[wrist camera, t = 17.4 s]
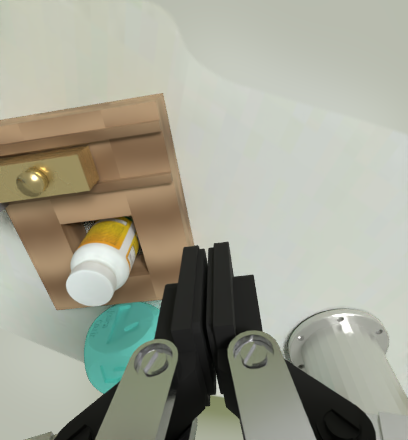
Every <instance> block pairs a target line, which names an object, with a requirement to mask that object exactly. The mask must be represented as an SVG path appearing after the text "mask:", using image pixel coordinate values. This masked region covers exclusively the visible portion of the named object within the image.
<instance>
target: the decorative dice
mask: <svg viewBox="0 0 408 440" xmlns="http://www.w3.org/2000/svg"><path fill="white" fill-rule="evenodd" d="M159 312H160V310H159V309H157V308H156V307H154V306H152V305H150V304H147V303H143V302H133V303H123V304H117V305H115V306H113V307H111V308H109V309H107V310H106V311H104V312H103V313H102V314H101V315H100V316H99V317H98V318H97V319H96V320H95V321H94V322H93V324H92V325H91V327H90V328H89V331H88V333H87V336H86V341H85V347H84V363H85V369H86V373H87V376H88V379H89V380H90V382H91V383H92V385H93V386H94V387H95V388H96V389H97V390H99V391H100V392H102V393H103V394H105V393H106V392H107V391H108V390H110V389H111V388H112V387H113V386H114V385H116V384H117V383H118V382H119V381H120V380H121V378H122V376H123V373H124V371H125V369H126V366H127V364H128V362H129V359H130V357H131V356H132V354H133V352H134V351H135V350H136V349H137V348H138V347H139V346H141V345H142V344H144V343H145V342H148V341H151V340H153V339H154V337H155V332H156V327H157V322H158V317H159Z"/></svg>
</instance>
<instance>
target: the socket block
mask: <svg viewBox="0 0 408 440" xmlns="http://www.w3.org/2000/svg"><path fill="white" fill-rule="evenodd" d="M86 145H88V146H89V149H90V152H91V155H92V158H93V161H94V164H95V167H96V170H97V173H98V176H99V180H98V181H97V183H96V184H95V185H94V186H93V188H92V189H91V190H90V191H84V192H77V193H69V194H62V195H55V196H48V197H40V198H33V199H26V200H19V201H11V202H4V203H0V212H1V211H2V210H4V209H6V211H7V213H8V215H9V217H10V219H11V221H12V223H13V225H14V227H15V229H16V231H17V233H18V235H19V237H20V239H21V241H22V243H23V245H24V247H25V249H26V251H27V253H28V255H29V257H30V259H31V261H32V262H33V264H34V266H35V268H36V270H37V272H38V274H39V276H40V278H41V280H42V282H43V284H44V286H45V288H46V290H47V292H48V294H49V296H50V298H51V300H52V302H53V304H54V306H55V308H56V310H64V309H73V308H83V307H93V306H86V305H83V304H80V303H78V302H77V301H75V300H74V299H73V298H72V297H71V296H70V295H69V293H68V292H67V289H66V281H67V279H68V277H69V275H70V273H71V259H72V256H73V254H74V253H75V251H76V250H77V248H78V247H79V245H80V244H81V242H82V241H83V239H84V238H85V236H86V235H87V233H86V230H85V228H84V225H83V223H82V222H84V221H91V220H99V219H107V218H115V217H122V216H130V215H132V218H133V221H134V224H135V228H136V231H137V234H138V238H139V241H140V244H141V248H142V251H143V254H137V255H136V258H135V261H134V263H133V266H132V269H131V272H130V274H129V277H128V279H127V281H126V282H125V284H124V285H123V286H122V287H120V288H119V289H117V290H115V292H114V294H113V296H112V298H111V299H110V301H109V302H107V303H106V304H104V305H113V304H123V303H133V302H142V301H152V300H162V298H163V293H164V288H165V285H166V284H172V283H178V279H179V273H180V266H181V260H182V253H183V248H184V247H189V246H194V242H193V237H192V232H191V227H190V223H189V218H188V213H187V208H186V203H185V198H184V193H183V189H182V184H181V179H180V174H179V169H178V164H177V159H176V154H175V150H174V145H173V140H172V135H171V130H170V125H169V120H168V116H167V111H166V106H165V101H164V96H163V93H161V94H155V95H149V96H143V97H137V98H131V99H125V100H119V101H113V102H107V103H101V104H95V105H89V106H83V107H77V108H71V109H64V110H58V111H52V112H46V113H40V114H34V115H28V116H22V117H16V118H10V119H4V120H0V159H1V158H7V157H14V156H20V155H27V154H34V153H40V152H47V151H53V150H60V149H66V148H73V147H79V146H86ZM101 306H103V305H101Z"/></svg>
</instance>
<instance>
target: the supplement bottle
mask: <svg viewBox="0 0 408 440" xmlns="http://www.w3.org/2000/svg"><path fill="white" fill-rule="evenodd" d="M140 245H141V244H140V241H139V238H138V234H137V231H136V228H135V224H134V221H133V218H132V216H122V217H115V218H107V219H99V220H96V221H95V223H94V224H93V226H92V227H91V228H90V230H89V231H88V233H87V235H86V236H85V238H84V239H83V241H82V242H81V244H80V245H79V247H78V248H77V250H76V251H75V253H74V254H73V256H72V259H71V273H70V275H69V277H68V279H67V281H66V289H67V292H68V293H69V295H70V296H71V297H72V298H73V299H74V300H75V301H77V302H78V303H80V304H83V305H86V306H101V305H104V304H106V303H107V302H109V301H110V299H111V298H112V296H113V294H114V292H115V290H117V289H119V288H120V287H122V286H123V285H124V284H125V282H126V281H127V279H128V277H129V274H130V272H131V269H132V266H133V263H134V261H135V258H136V255H137V253H138V250H139V247H140Z"/></svg>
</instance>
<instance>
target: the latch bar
mask: <svg viewBox="0 0 408 440" xmlns="http://www.w3.org/2000/svg"><path fill="white" fill-rule="evenodd" d="M98 180H99V176H98V173H97V170H96V167H95V164H94V161H93V158H92V155H91V152H90V149H89V146H88V145H86V146H79V147H73V148H66V149H60V150H53V151H47V152H40V153H34V154H27V155H20V156H14V157H7V158H1V159H0V203H4V202H11V201H19V200H26V199H33V198H40V197H48V196H55V195H62V194H69V193H77V192H84V191H90V190H91V189H92V188H93V186H94V185H95V184H96V183H97V181H98Z"/></svg>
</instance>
